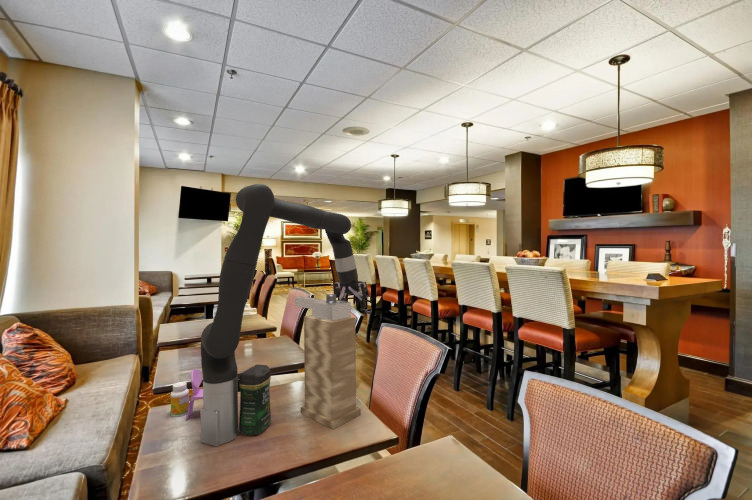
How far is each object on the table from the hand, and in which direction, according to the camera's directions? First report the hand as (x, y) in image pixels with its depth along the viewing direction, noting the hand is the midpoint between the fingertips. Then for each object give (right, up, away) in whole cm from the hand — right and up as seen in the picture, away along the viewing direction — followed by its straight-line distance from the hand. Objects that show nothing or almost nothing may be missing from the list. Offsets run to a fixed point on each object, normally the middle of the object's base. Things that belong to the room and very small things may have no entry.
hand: (354, 308), depth 134 cm
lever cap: (-11, 0, -16) cm, 19 cm away
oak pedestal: (-7, -32, -19) cm, 37 cm away
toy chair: (-49, -32, -19) cm, 61 cm away
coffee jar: (-28, -32, -27) cm, 51 cm away
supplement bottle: (-57, -32, -18) cm, 68 cm away
